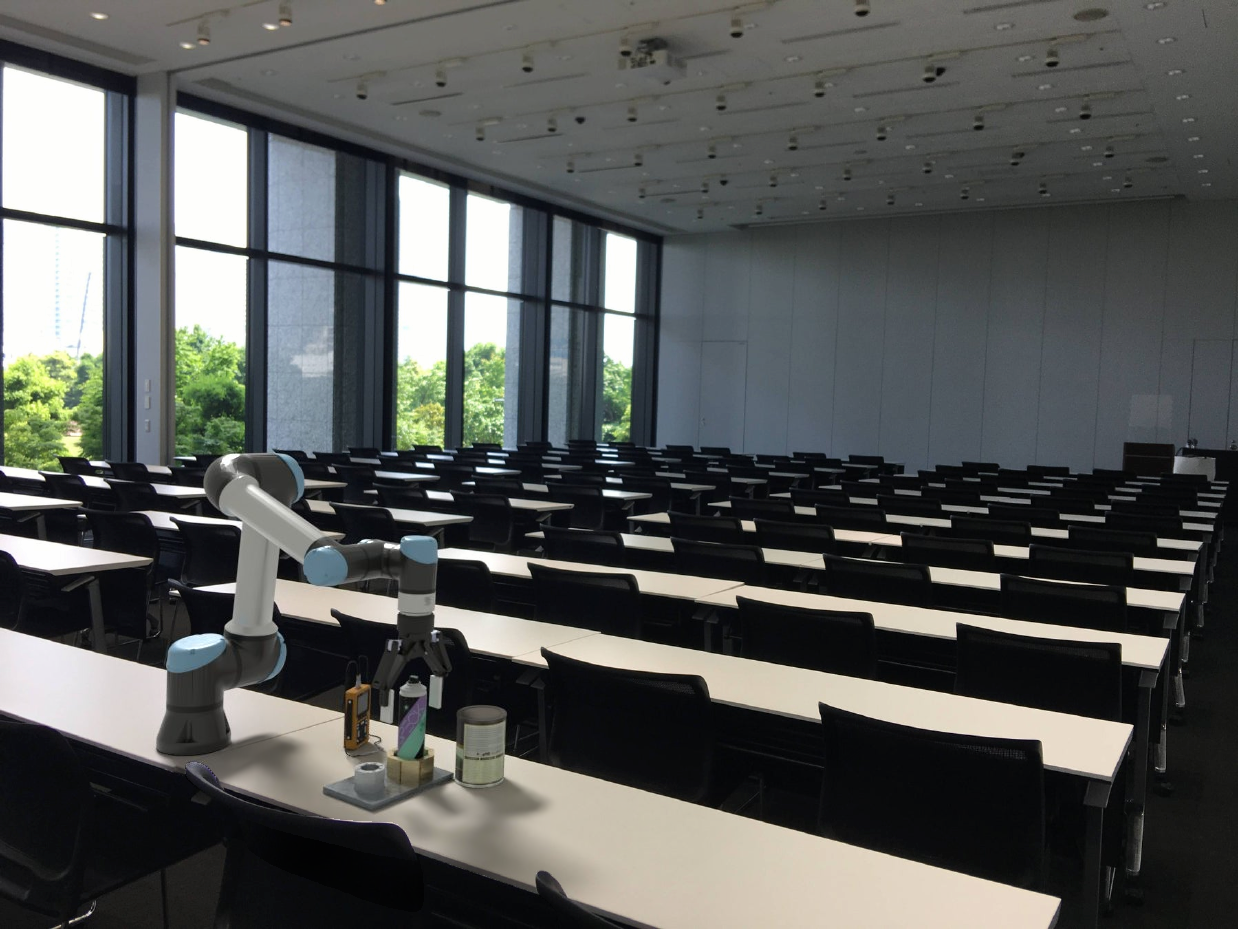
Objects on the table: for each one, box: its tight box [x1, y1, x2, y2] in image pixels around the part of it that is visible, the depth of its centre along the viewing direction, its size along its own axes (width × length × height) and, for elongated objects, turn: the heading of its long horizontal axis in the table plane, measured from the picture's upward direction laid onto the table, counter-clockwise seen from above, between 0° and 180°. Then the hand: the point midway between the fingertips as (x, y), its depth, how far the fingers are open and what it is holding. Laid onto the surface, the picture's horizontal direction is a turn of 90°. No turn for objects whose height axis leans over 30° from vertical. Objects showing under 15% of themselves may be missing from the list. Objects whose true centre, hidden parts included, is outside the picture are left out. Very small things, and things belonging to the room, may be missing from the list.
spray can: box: [397, 674, 428, 759], centre depth 199 cm, size 6×6×20 cm
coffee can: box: [453, 704, 508, 789], centre depth 201 cm, size 10×10×14 cm
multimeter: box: [343, 655, 387, 758], centre depth 217 cm, size 15×10×20 cm
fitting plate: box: [322, 746, 455, 812], centre depth 195 cm, size 14×22×5 cm, turn 146°
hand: (411, 714), depth 199 cm, fingers open, 13 cm apart
